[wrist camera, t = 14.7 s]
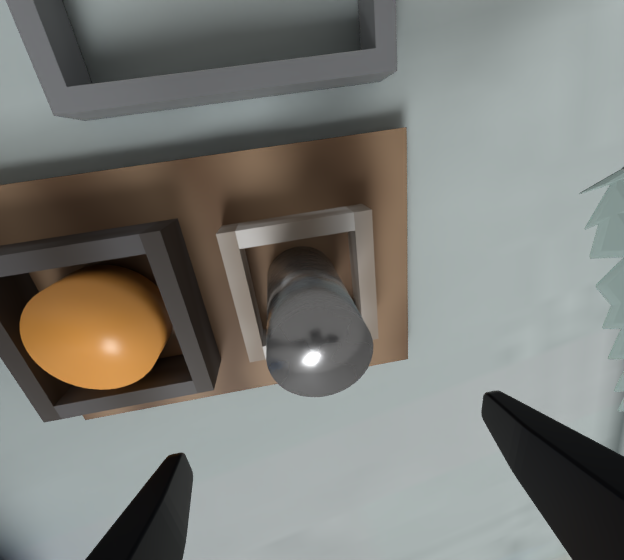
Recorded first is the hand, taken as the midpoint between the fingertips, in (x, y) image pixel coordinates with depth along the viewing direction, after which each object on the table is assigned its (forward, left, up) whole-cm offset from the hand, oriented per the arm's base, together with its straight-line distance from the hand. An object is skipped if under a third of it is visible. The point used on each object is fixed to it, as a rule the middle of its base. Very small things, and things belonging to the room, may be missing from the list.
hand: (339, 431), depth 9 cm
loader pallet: (-5, 0, -13) cm, 14 cm away
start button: (-12, 0, -11) cm, 16 cm away
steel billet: (0, 0, -12) cm, 12 cm away
